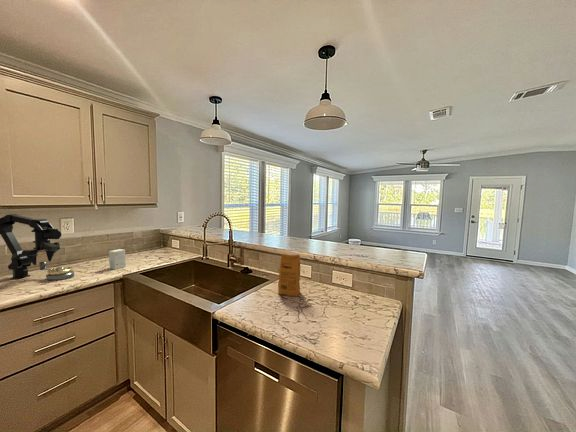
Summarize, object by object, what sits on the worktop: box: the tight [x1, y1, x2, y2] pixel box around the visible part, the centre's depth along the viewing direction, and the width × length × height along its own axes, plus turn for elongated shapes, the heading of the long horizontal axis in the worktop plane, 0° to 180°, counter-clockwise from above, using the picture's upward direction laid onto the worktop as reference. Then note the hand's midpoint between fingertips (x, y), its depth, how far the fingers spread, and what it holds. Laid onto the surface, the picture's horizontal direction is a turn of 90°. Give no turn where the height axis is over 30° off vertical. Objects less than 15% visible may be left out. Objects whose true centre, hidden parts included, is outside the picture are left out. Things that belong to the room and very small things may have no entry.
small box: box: [108, 248, 127, 270], centre depth 179 cm, size 8×6×13 cm
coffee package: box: [277, 253, 301, 297], centre depth 134 cm, size 10×12×22 cm
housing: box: [45, 270, 75, 282], centre depth 157 cm, size 15×18×3 cm
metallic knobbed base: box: [38, 260, 73, 276], centre depth 154 cm, size 18×11×7 cm, turn 90°
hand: (42, 263), depth 154 cm, fingers open, 9 cm apart
